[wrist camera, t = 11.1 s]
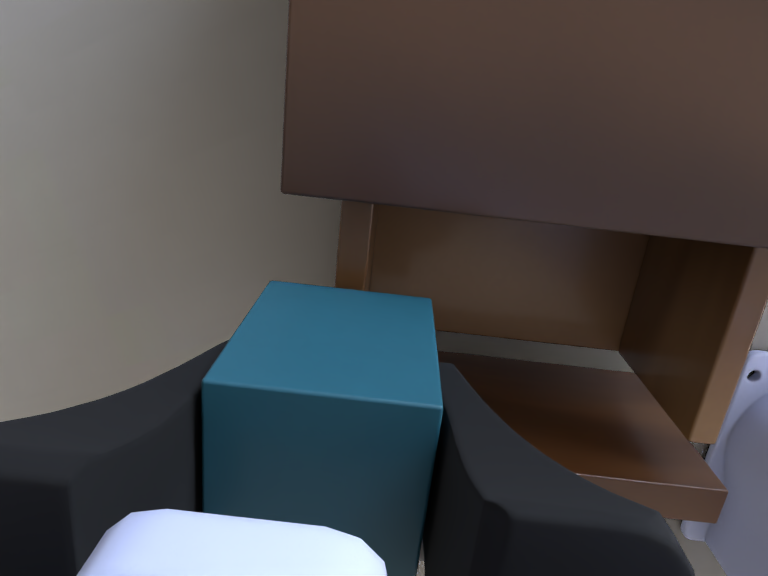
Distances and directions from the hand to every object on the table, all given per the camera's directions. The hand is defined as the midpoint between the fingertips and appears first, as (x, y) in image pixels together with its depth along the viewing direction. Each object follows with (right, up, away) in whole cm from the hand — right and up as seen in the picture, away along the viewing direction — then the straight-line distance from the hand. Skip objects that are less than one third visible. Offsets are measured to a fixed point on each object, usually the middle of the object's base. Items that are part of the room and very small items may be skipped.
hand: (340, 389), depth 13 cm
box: (0, 0, +1) cm, 1 cm away
